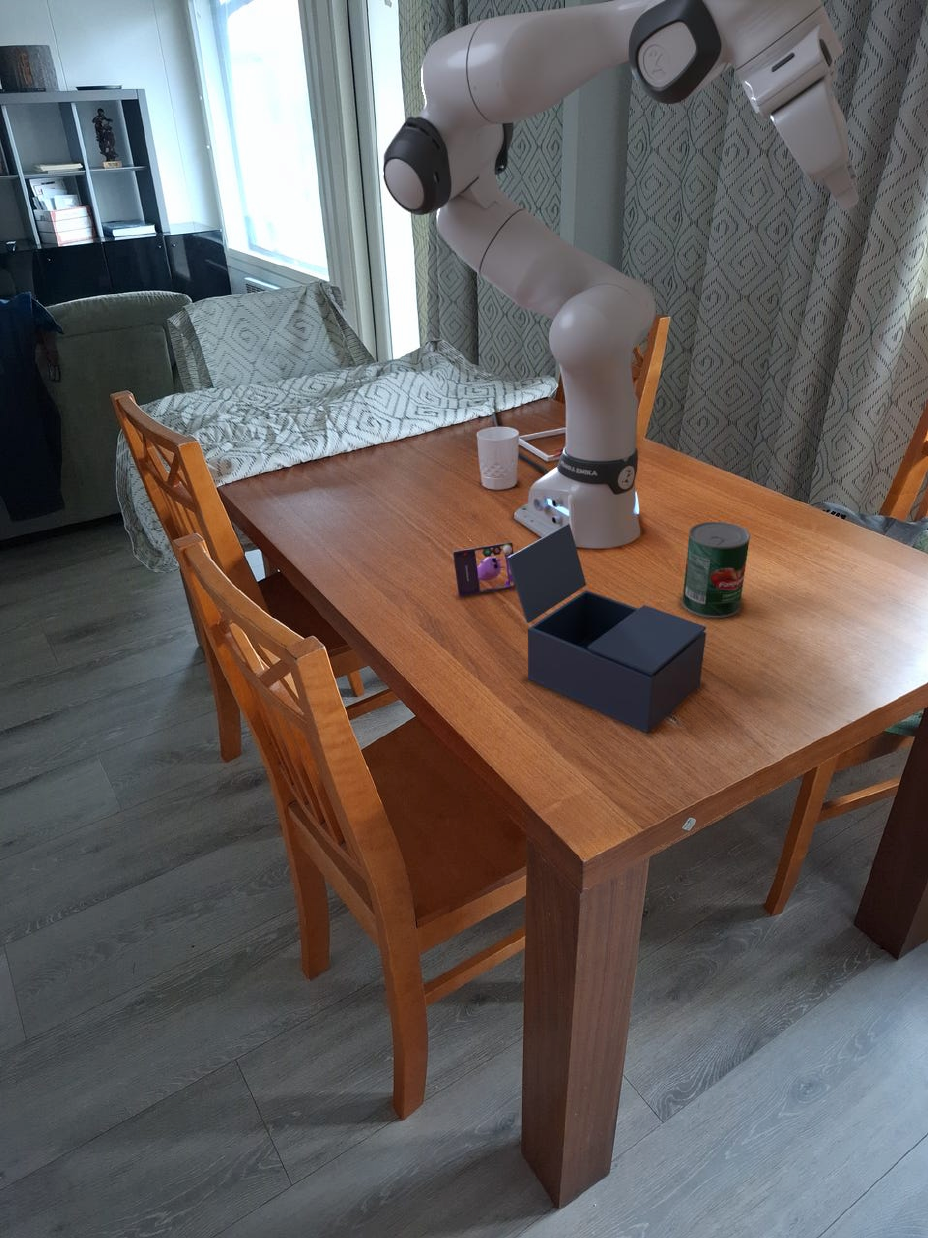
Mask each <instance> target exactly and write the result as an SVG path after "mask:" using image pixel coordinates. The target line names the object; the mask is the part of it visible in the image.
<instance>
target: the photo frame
mask: <svg viewBox="0 0 928 1238" xmlns="http://www.w3.org/2000/svg"><path fill="white" fill-rule="evenodd" d="M561 434H566V427H560V428H557V429H551V430H546V431H540V432H536V433H531V434H525V435H519V446H521V447H523V448H524V449H525V450H528V452H531V453H533V455H536V456H537V457H539V458H541V460H544V461H545V462H553V461H557V460H558V461H559V459H560V457H561V455H560V456H557V457H553V456H554V455H555V454H552V455H548V454H547V453H545V452H544V451H542V450H540V449H538V448H537V447H535V446H534V445H531V444H530V443H528V442H526V441H530V440H535V439H540V438H546V437H551V436H556V435H561Z"/></svg>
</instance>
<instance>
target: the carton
mask: <svg viewBox="0 0 928 1238" xmlns="http://www.w3.org/2000/svg"><path fill="white" fill-rule="evenodd" d="M706 630H707V626H705V625H702V624H699V623H696V622H694V621H692V620H688V619H686V618H683V617H680V616H676V615H674V614H671V613H668V612H665V611H663V610H659V609H657V608H655V607H651V606H648V605H646V604H643V605H642V606H640V607H639V608H638V607H635V606H633V605H629V604H627V603H625V602H624V603H623V602H622V601H618V600H615V599H613V598H610V597H607V596H604V595H602V594H598V593H595V592H593V591H590V590H587V589H585V590H583V591H582V592H580V593H578V594H577V595H576V596H574V597H572V598H571V599H570V600H568V601H567V602H565V603H564V604H562V605H561V606H559V607H557V608H556V609H554V610H553V611H552V612H550V613H548V614H547V615H545V616H544V617H542V618H541V619H540V620H538V621H537V622H535V623H534V624H532V625H531V626H529V627H527V680H528V681H531V682H533V683H534V684H537V685H539V686H541V687H544V688H546V689H548V690H550V691H553V692H555V693H557V694H559V695H560V696H563V697H566V698H568V699H570V700H572V701H575V702H577V703H579V704H581V705H582V706H586V707H587V708H589V709H592V710H594V711H596V712H598V713H601V714H603V715H605V716H608V717H610V718H611V719H614V720H616V721H618V722H620V723H623V724H624V725H626V726H629V727H631V728H634V729H636V730H637V731H640V732H642V733H645V734H649V733H650V732H651V731H652V730H653V729H654V728H655V727H656V726H657V725H658V724H660V723H661V722H662V721H663V720H664V719H665V718H666V717H668V715H669V714H670V713H671V712H673V711H674V710H675V709H676V708H677V707H678V706H679V705H680V704H682V702H684V701H685V700H686V699H687V698H688V697H689V696H690V695H691V694H692V693H693V692H694V691H695V690H697V688H699V687H700V685H701V678H702V671H703V663H704V655H705V648H706V647H705V646H706V638H707V632H706Z"/></svg>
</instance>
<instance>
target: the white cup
mask: <svg viewBox="0 0 928 1238" xmlns="http://www.w3.org/2000/svg"><path fill="white" fill-rule="evenodd" d="M519 436H520V432H519V430H517V429H516V428H513V427H508V426H499V427H495V426H491V427H486V428H483V429H480V430H478V431H477V432H476V439H477V453H478V464H479V472H480V480H481V486H482V487H484V488H486V489H488V490H495V491H502V490H507V489H511V488H513V487H515V486H516V485H517V483H518V466H519V456H518V451H519V446H520V445H519Z"/></svg>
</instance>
